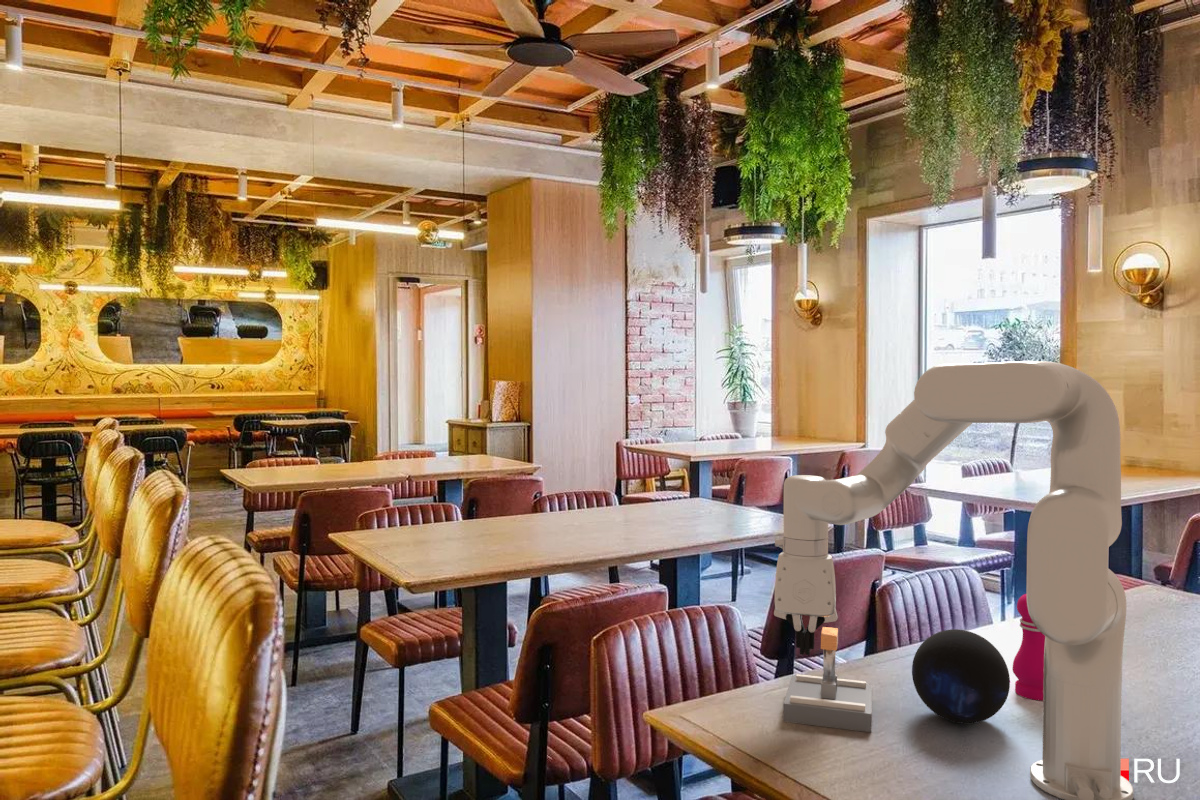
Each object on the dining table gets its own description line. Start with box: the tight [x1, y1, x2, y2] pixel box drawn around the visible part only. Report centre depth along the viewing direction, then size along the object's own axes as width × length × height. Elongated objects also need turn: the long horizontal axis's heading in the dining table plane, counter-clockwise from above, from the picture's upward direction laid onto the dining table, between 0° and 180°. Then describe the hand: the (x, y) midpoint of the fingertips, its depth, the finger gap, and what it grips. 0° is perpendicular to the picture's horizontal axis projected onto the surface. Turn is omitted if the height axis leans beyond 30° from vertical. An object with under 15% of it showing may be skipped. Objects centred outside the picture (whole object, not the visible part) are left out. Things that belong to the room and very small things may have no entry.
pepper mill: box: [1012, 593, 1045, 702], centre depth 153 cm, size 7×7×20 cm
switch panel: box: [782, 673, 873, 733], centre depth 146 cm, size 14×14×6 cm
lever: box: [820, 626, 839, 683], centre depth 145 cm, size 5×3×10 cm, turn 162°
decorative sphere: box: [911, 628, 1011, 725], centre depth 142 cm, size 15×15×15 cm
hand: (805, 652), depth 147 cm, fingers closed
